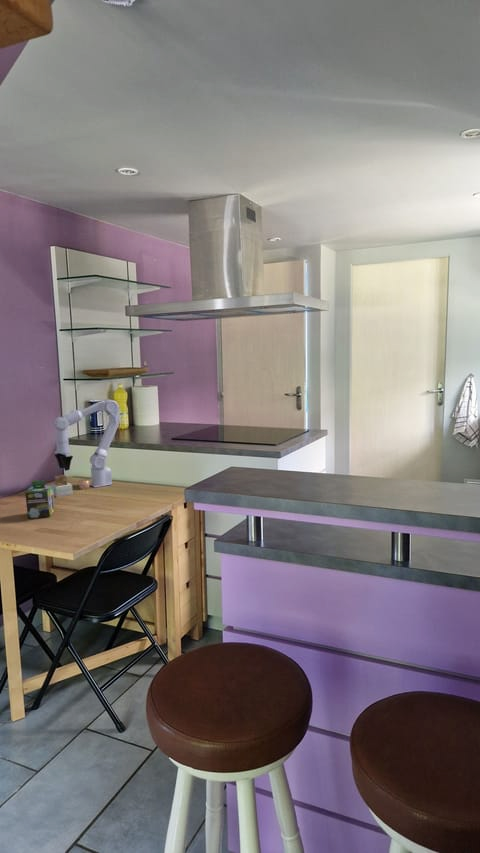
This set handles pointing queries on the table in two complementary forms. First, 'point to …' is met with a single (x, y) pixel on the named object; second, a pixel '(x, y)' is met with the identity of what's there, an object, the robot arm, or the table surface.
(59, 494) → the small box
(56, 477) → the walnut block
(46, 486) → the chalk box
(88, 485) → the peach capsule cylinder
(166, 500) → the table surface
